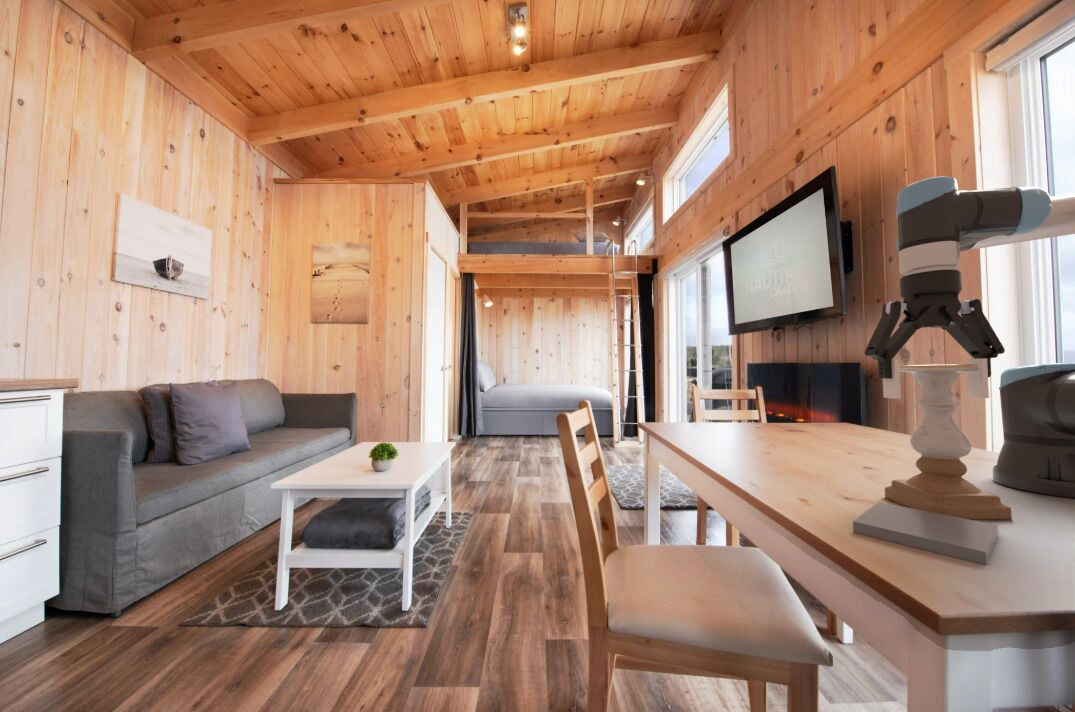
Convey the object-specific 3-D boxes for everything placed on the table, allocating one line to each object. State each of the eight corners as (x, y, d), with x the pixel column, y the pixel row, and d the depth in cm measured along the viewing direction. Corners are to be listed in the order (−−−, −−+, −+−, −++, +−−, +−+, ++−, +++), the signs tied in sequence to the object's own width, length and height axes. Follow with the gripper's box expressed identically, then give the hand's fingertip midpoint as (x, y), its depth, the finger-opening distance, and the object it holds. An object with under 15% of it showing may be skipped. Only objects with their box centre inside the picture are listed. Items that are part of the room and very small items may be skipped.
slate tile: (879, 511, 67) (878, 502, 67) (998, 535, 56) (997, 524, 56) (853, 531, 59) (852, 521, 59) (986, 564, 48) (985, 552, 48)
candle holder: (948, 497, 73) (941, 364, 73) (1014, 520, 62) (1004, 363, 62) (883, 497, 74) (876, 365, 74) (936, 519, 63) (927, 365, 64)
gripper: (985, 275, 72) (991, 395, 71) (837, 279, 74) (841, 396, 73) (1033, 264, 64) (1041, 398, 64) (868, 269, 66) (873, 400, 65)
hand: (934, 398), depth 68 cm, fingers open, 13 cm apart
